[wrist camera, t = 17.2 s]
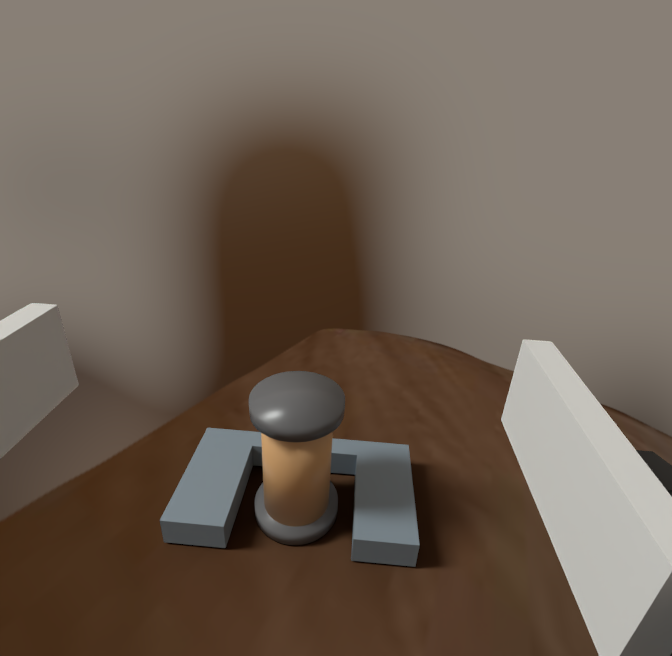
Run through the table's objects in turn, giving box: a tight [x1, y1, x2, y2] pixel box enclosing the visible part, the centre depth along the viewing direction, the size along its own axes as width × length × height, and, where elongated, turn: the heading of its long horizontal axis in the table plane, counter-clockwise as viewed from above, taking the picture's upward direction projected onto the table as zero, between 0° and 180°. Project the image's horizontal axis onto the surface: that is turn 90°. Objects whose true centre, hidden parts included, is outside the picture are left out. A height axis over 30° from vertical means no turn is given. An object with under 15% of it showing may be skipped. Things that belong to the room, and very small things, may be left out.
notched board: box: [160, 428, 420, 567], centre depth 39 cm, size 20×11×2 cm, turn 86°
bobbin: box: [249, 371, 345, 545], centre depth 36 cm, size 7×7×12 cm
